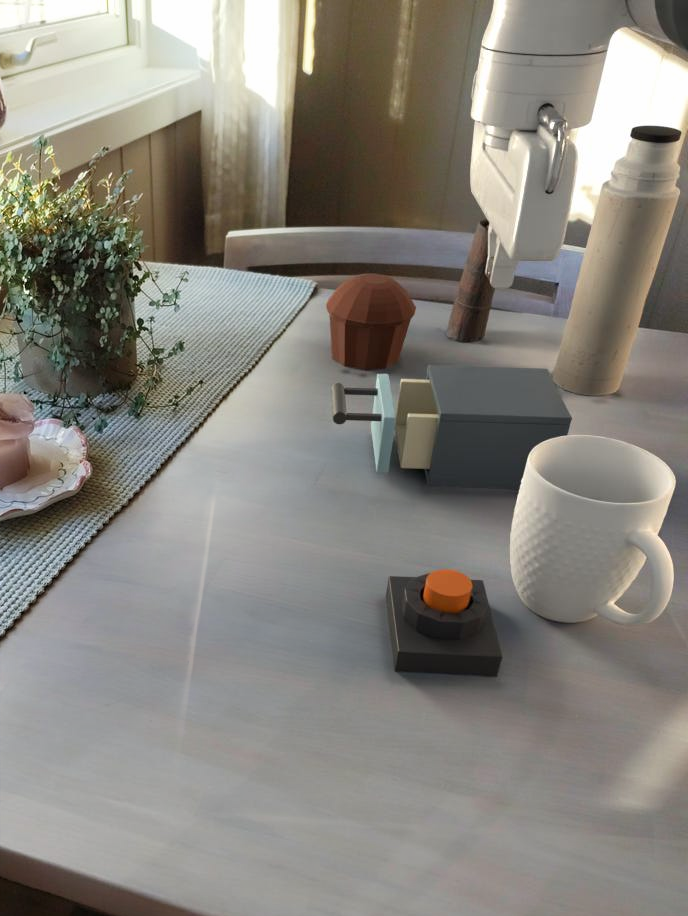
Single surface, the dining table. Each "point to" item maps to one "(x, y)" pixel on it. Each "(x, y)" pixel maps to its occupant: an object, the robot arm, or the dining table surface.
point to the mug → (590, 529)
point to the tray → (395, 420)
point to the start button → (447, 591)
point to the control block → (441, 632)
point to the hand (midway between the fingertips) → (497, 282)
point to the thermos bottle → (619, 263)
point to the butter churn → (473, 292)
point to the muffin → (369, 321)
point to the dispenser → (491, 423)
